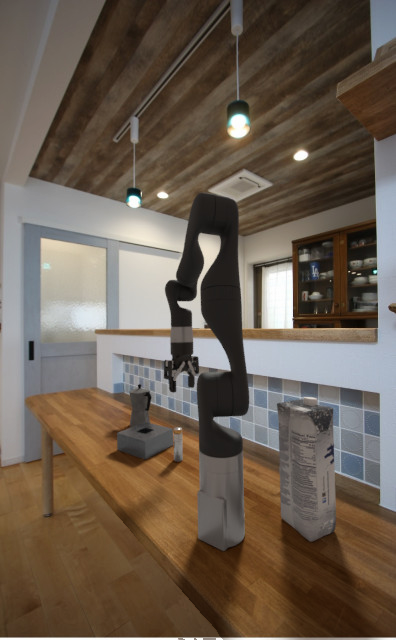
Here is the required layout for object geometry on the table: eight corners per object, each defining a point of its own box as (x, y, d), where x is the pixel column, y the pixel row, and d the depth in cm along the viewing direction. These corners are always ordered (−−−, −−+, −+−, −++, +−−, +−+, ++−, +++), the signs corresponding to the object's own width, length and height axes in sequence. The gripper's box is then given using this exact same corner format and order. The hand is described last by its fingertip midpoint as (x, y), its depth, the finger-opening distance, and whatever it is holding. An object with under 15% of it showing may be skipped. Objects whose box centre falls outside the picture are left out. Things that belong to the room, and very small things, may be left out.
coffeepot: (123, 424, 131) (122, 383, 132) (141, 419, 138) (140, 381, 138) (141, 432, 120) (140, 388, 120) (160, 427, 126) (159, 385, 127)
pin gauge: (179, 462, 93) (178, 430, 93) (172, 460, 94) (171, 429, 95) (184, 459, 95) (184, 428, 95) (177, 456, 97) (177, 426, 97)
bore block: (145, 459, 95) (145, 441, 95) (117, 449, 103) (117, 432, 103) (173, 445, 106) (172, 428, 107) (145, 437, 114) (145, 422, 115)
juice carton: (311, 548, 56) (307, 406, 57) (274, 517, 65) (271, 396, 66) (343, 533, 60) (339, 401, 60) (304, 505, 69) (301, 391, 70)
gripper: (174, 342, 88) (175, 395, 88) (204, 339, 99) (205, 387, 99) (157, 341, 93) (158, 392, 93) (188, 339, 104) (188, 384, 104)
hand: (182, 389), depth 96 cm, fingers open, 8 cm apart
